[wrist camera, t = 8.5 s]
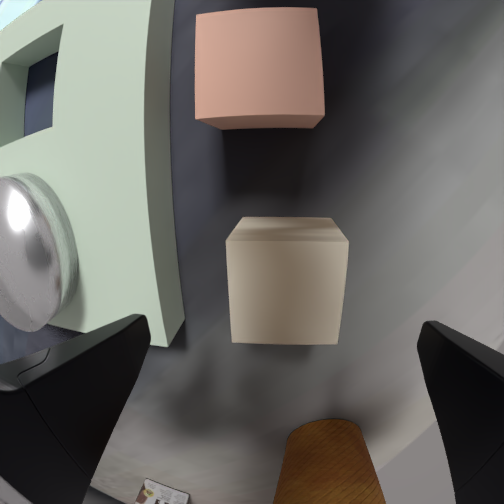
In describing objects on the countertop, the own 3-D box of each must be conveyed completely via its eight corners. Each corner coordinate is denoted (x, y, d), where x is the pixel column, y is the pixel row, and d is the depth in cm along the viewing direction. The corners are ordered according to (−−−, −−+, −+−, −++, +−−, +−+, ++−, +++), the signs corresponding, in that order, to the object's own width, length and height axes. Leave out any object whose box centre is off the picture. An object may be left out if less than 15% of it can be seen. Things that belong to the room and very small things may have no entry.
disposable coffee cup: (397, 432, 19) (423, 545, 8) (313, 473, 22) (311, 573, 11) (338, 387, 18) (357, 548, 6) (244, 437, 21) (220, 562, 9)
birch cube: (330, 217, 14) (348, 242, 10) (325, 297, 16) (337, 344, 12) (242, 216, 15) (225, 240, 11) (245, 295, 16) (232, 342, 12)
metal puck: (67, 161, 12) (34, 166, 9) (94, 322, 15) (70, 345, 12) (-13, 182, 13) (-40, 189, 10) (10, 302, 15) (-11, 317, 13)
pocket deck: (177, -29, 10) (160, -53, 7) (184, 318, 17) (168, 347, 14) (-3, 56, 12) (-25, 53, 9) (11, 292, 19) (-10, 306, 16)
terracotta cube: (308, 47, 12) (316, 8, 7) (312, 128, 13) (324, 115, 9) (220, 50, 12) (196, 15, 8) (222, 130, 14) (195, 119, 9)
